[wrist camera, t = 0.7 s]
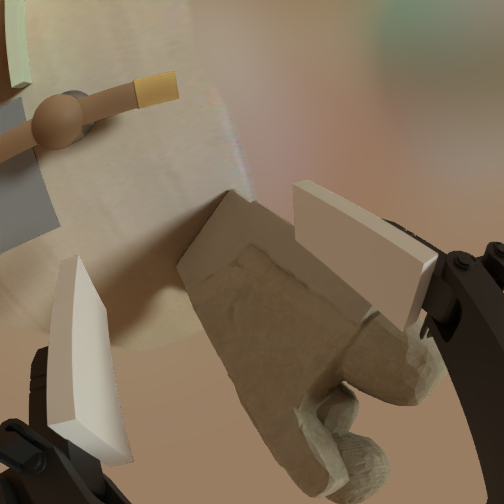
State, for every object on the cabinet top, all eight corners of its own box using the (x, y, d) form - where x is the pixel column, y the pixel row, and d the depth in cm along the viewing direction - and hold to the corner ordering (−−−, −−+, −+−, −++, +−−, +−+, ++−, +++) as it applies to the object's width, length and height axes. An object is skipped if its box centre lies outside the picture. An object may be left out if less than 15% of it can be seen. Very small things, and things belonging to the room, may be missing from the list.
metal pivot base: (41, 102, 19) (29, 103, 15) (90, 83, 20) (86, 79, 17) (53, 150, 22) (43, 159, 18) (101, 132, 23) (98, 137, 20)
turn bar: (-68, 169, 12) (-80, 176, 10) (167, 63, 19) (173, 59, 17) (-55, 208, 14) (-66, 219, 12) (175, 109, 21) (181, 110, 19)
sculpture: (212, 303, 39) (346, 510, 16) (160, 282, 34) (287, 544, 11) (281, 211, 37) (491, 383, 14) (234, 176, 32) (498, 384, 8)
